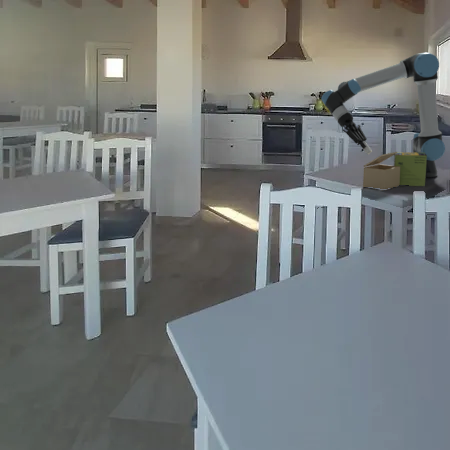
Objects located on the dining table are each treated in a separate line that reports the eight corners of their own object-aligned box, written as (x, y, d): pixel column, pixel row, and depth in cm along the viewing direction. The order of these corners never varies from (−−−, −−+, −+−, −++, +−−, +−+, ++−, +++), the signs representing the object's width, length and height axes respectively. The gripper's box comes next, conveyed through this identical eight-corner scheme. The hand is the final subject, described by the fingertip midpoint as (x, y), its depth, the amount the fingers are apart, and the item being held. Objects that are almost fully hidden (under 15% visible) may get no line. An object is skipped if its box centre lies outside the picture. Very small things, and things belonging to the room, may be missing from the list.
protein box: (425, 186, 321) (427, 155, 317) (393, 185, 324) (394, 154, 320) (423, 182, 331) (425, 152, 327) (392, 181, 334) (393, 151, 330)
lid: (379, 163, 327) (378, 162, 327) (397, 152, 319) (397, 151, 319) (363, 167, 318) (363, 165, 318) (382, 155, 309) (381, 154, 309)
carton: (378, 183, 330) (379, 164, 327) (399, 186, 321) (400, 166, 319) (362, 187, 320) (363, 167, 318) (384, 190, 312) (385, 170, 309)
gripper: (345, 120, 335) (372, 156, 328) (331, 122, 326) (357, 158, 319) (355, 111, 330) (381, 146, 323) (340, 112, 321) (367, 149, 314)
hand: (369, 152), depth 321 cm, fingers closed
